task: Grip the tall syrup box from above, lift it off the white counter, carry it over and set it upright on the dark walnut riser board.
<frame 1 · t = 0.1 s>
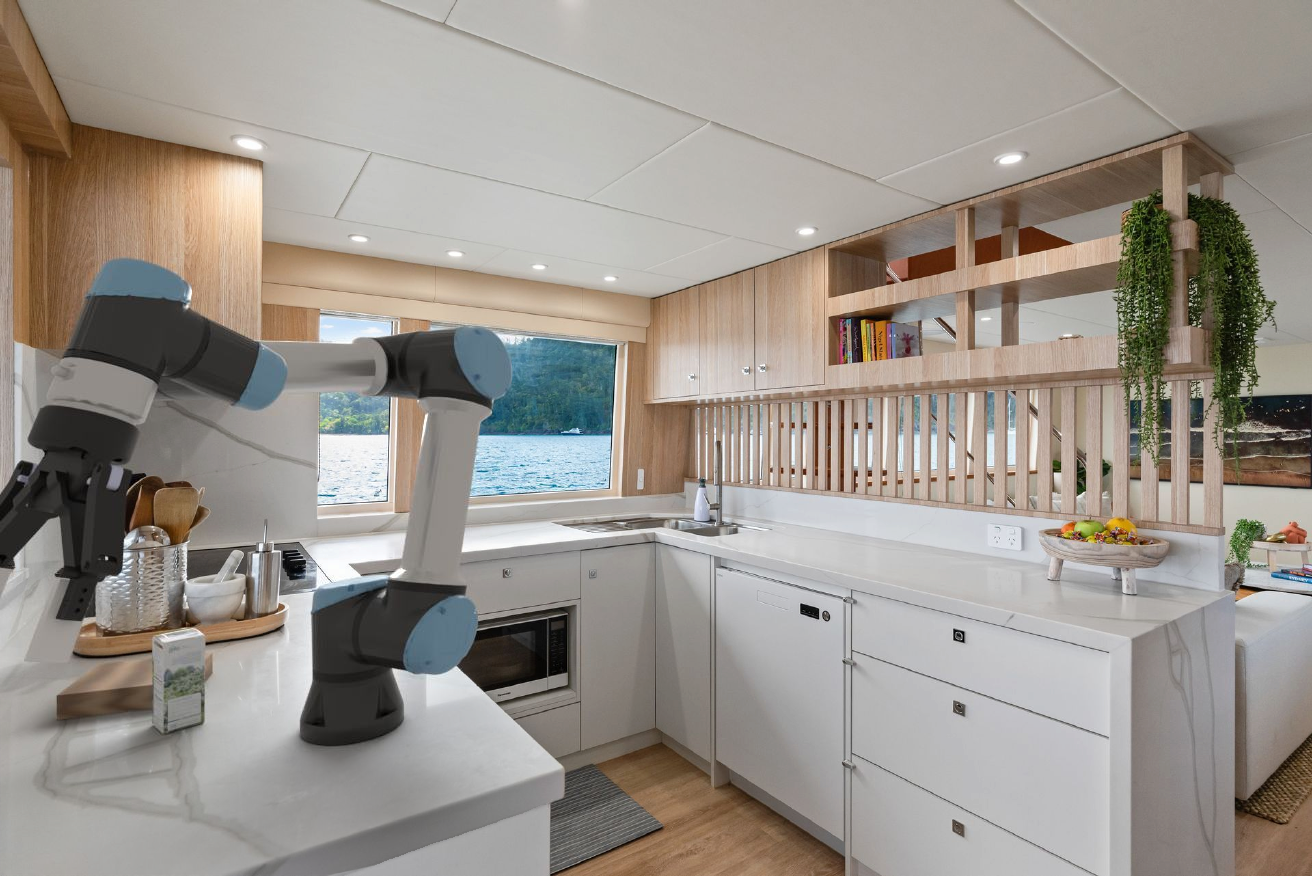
hand: (1, 651, 57), 28 cm above the counter, tool tilted 20°, fingers open, 13 cm apart
walnut riser: (141, 694, 119), on the counter
syrup box: (179, 725, 107), on the counter
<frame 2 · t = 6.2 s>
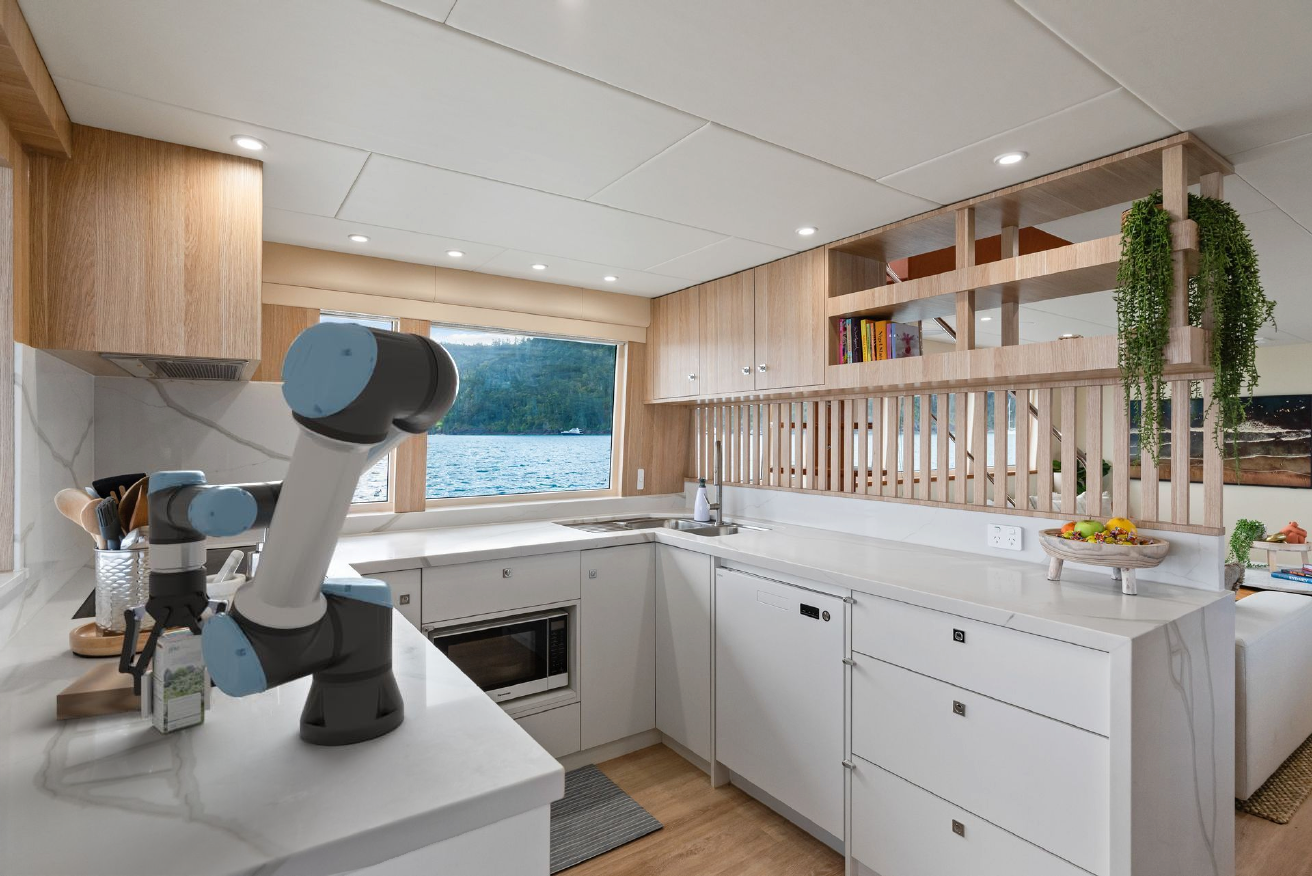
hand: (178, 710, 107), 2 cm above the counter, tool pointing down, fingers closed on syrup box, 8 cm apart
syrup box: (178, 725, 107), on the counter, touching gripper
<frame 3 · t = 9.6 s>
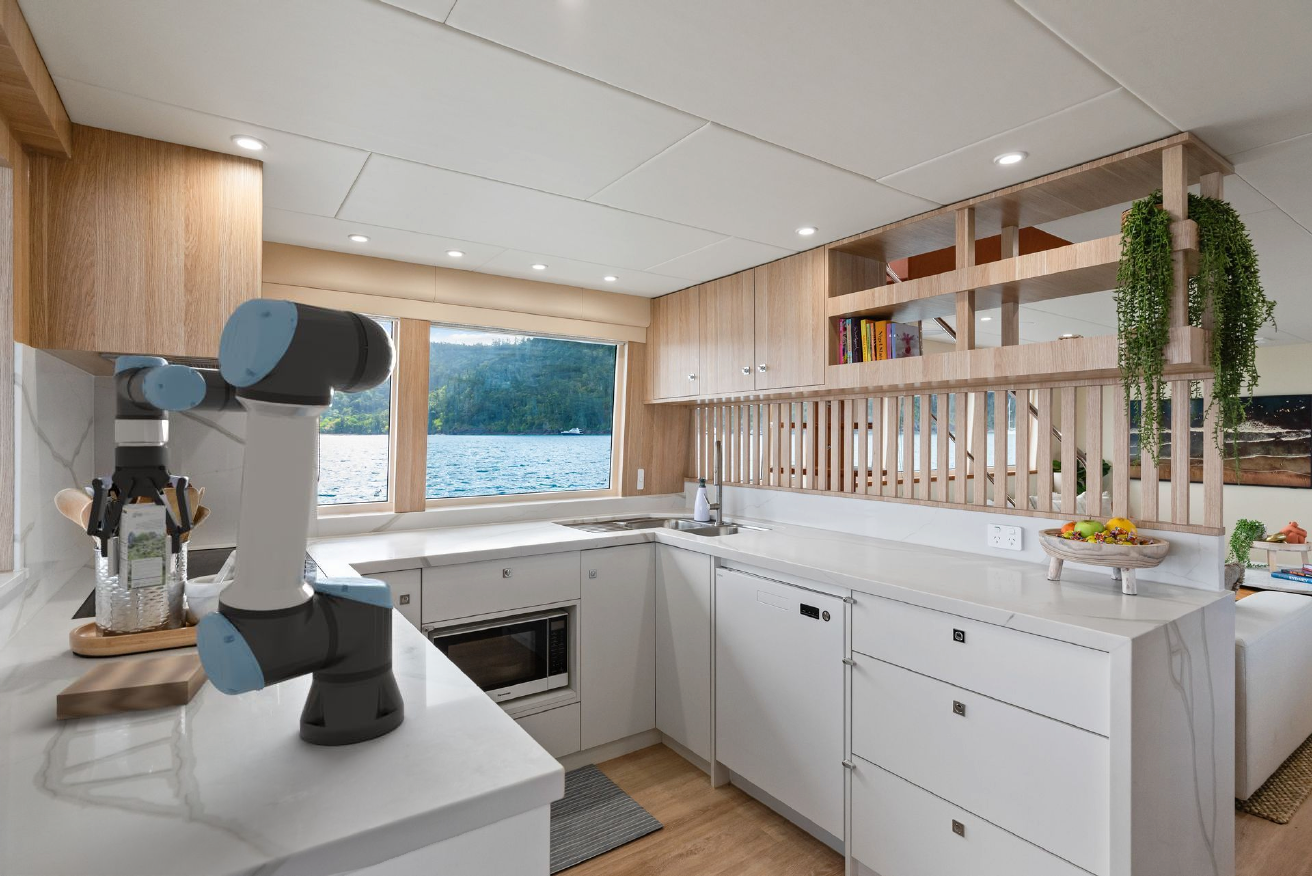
hand: (142, 573, 119), 22 cm above the counter, tool pointing down, fingers closed on syrup box, 8 cm apart
syrup box: (142, 587, 119), point 19 cm above the counter, touching gripper
when the fingers open (8 cm above the counter, at t = 13.1 s): syrup box drops 1 cm, resting on walnut riser.
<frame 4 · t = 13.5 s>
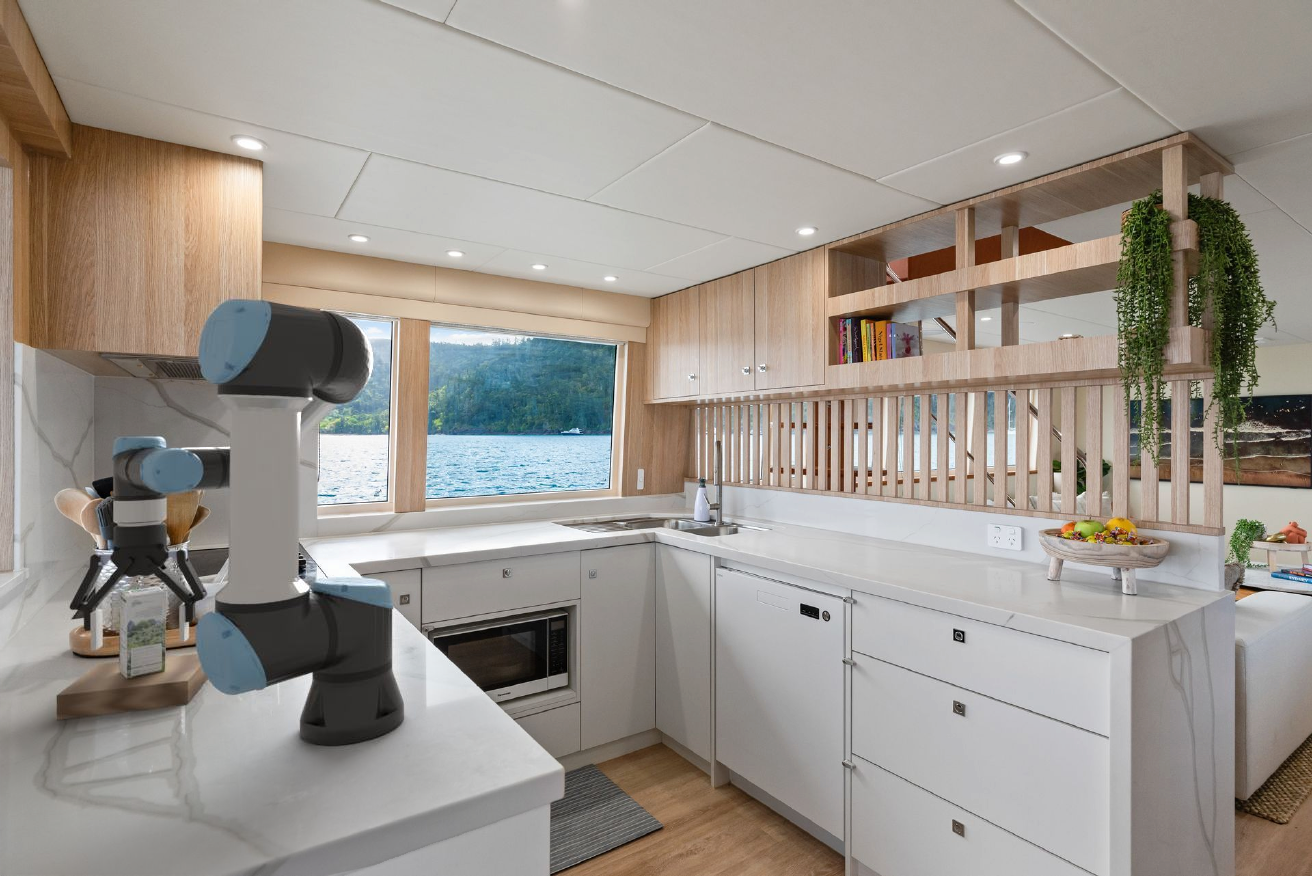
hand: (141, 644, 119), 9 cm above the counter, tool pointing down, fingers open, 12 cm apart
syrup box: (142, 672, 119), point 4 cm above the counter, touching walnut riser
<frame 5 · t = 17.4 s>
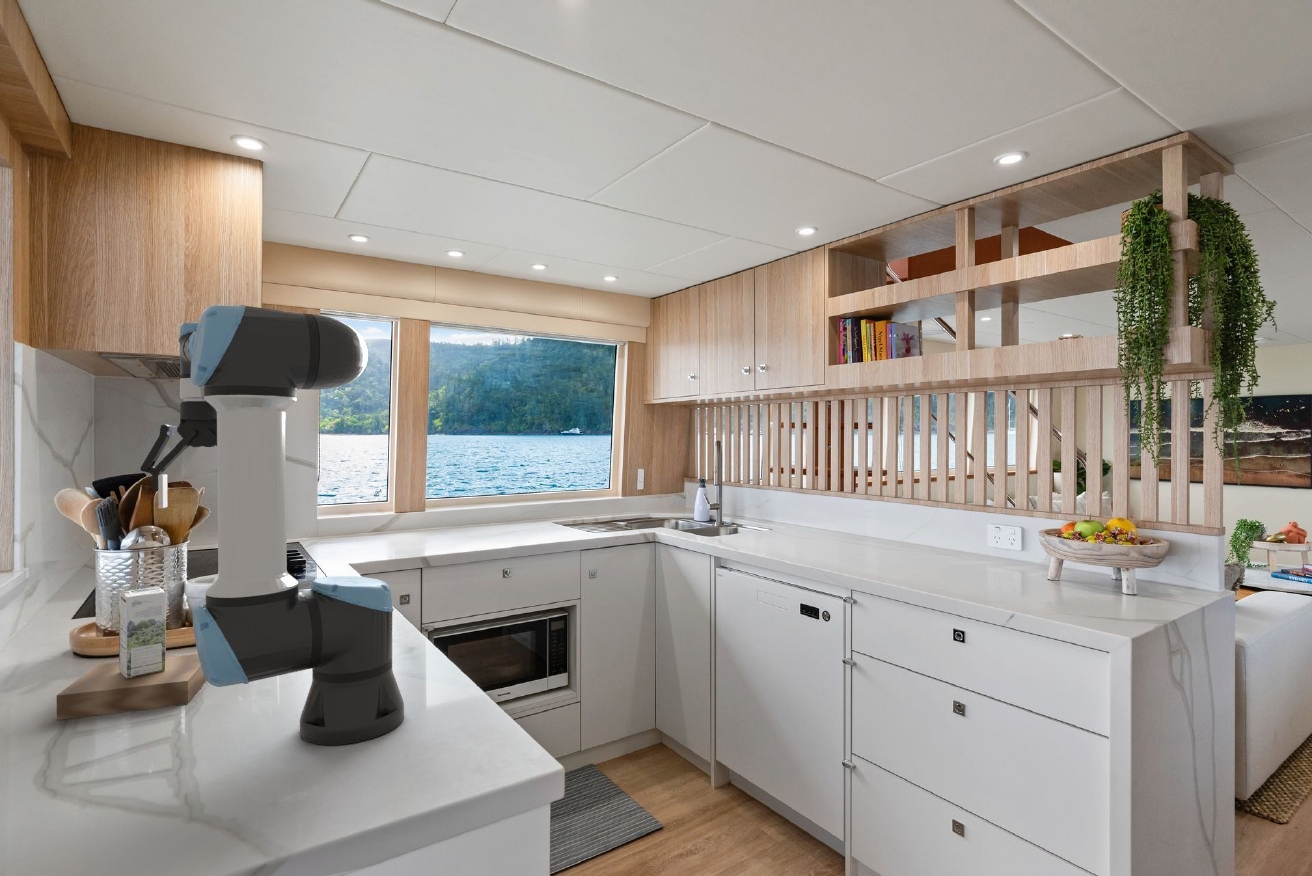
hand: (203, 506, 135), 32 cm above the counter, tool pointing down, fingers open, 13 cm apart
nothing on the counter moved.
at the end: syrup box inside the target area on the walnut riser (0.2 cm from its centre), point 3.8 cm above the walnut riser's base; syrup box tilted 0°; the gripper is holding nothing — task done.
